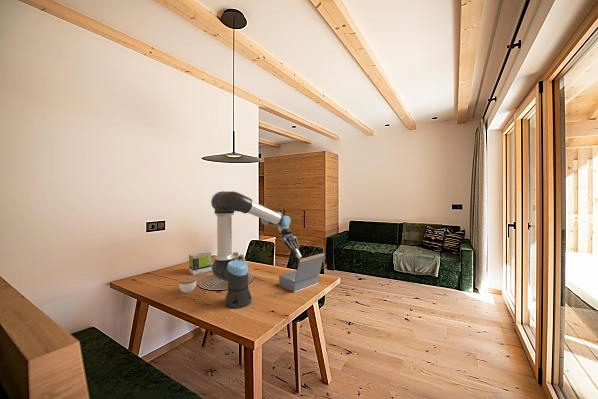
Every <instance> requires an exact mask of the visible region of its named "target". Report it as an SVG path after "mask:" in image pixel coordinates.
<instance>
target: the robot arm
mask: <svg viewBox="0 0 598 399" xmlns="http://www.w3.org/2000/svg"><path fill="white" fill-rule="evenodd" d="M210 203H211V204H210V205H211V207H212V208H213V209H214V215H215V216H216V227H217V228H216V229H217V230H216V235H217V237H216V239H217V241H216V246H217V247H216V248H217V249H216V250H217V252H216V254H217V255H216V256H215V257H214V261H213V262H212V267H211V270H212V271H211V274H212V276H214V277H215V278H217V279H219V280H222V281H224V282H226V283H227V292H226V295H225V298H224V305H225V306H226V307H227V308H229V309H240V308H243V307H244V308H245V307H246V306H249V305H250V304H251V303H252V301H253V300H252V294H251V291H250V288H249V266H248V263H247V261H245V262H244V261H241V260H240V261H239V260H234V256H233V255H232V254H233V250H232V249H233V245H232V244H233V240H232V239H233V236H232V235H233V232H232V231H233V230H232V229H233V226H232V223H233V222H232V221H233V219H232V218H233V217H232V216H234V214H235V212H240V213H242V214H250V215H252V216H254V217H257V218H260V219H261V220H260V221H261V224H262V225H265V226H274V227H277V229H278V231H279V233H280V235H281V236H282V239H281V242H282V243H284V244H285V246H286V247H287V248H288V249H289V251H291V252H293V253H294V255H295V256H296V257H297V259H298V260H299V259H302V257H303V256H302V254H301V251H300V250H299V249H300V244H299V241H298V236H297V235H295V236H294V234H293V233H292V232H293V231H292V230H291V228H290V225H291V217H290V216H288V215H284V214H282V213H281V211H278V212H277V211H274V210H272V209H270V208H268V207H266V206H263V205H261V204H259V203H258V202H255V201H253V199H252V198H250V197H248V196H247V195H244V194H242V193H240V192H237V191H218V192H215V193H214V194H213V195H212V197H211V199H210Z"/></svg>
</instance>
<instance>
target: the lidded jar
mask: <svg viewBox="0 0 598 399" xmlns="http://www.w3.org/2000/svg"><path fill="white" fill-rule="evenodd" d="M178 286H179V290H180V291H181V292H182V293H184V294H188V293H192V292H193V291H194V290H195V288H196V287H197V277H196V276H185V277H181V278H180V279H178Z"/></svg>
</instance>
